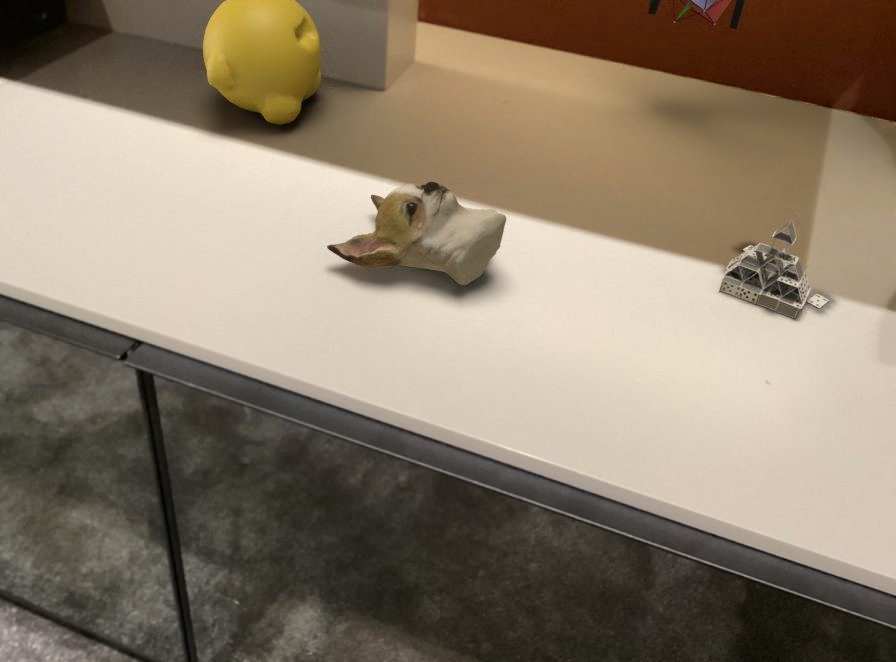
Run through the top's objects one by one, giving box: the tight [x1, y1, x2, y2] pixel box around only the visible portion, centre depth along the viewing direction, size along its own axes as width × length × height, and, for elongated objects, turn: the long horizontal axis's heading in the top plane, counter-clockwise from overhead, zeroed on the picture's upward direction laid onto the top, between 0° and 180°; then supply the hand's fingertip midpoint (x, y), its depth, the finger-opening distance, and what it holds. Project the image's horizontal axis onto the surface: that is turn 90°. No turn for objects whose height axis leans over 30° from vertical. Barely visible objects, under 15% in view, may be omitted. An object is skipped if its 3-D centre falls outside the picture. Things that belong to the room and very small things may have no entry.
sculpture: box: [202, 0, 322, 126], centre depth 104 cm, size 15×13×13 cm
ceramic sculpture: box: [326, 181, 507, 286], centre depth 86 cm, size 11×9×15 cm
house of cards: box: [718, 219, 830, 319], centre depth 85 cm, size 9×9×8 cm
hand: (693, 16), depth 102 cm, fingers closed on geometric puzzle, 8 cm apart
